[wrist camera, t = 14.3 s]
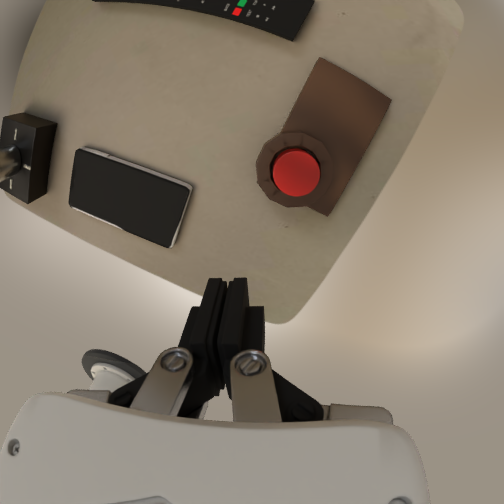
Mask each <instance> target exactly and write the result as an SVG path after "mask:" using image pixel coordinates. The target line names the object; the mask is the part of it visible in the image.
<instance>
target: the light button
mask: <svg viewBox="0 0 504 504" xmlns="http://www.w3.org/2000/svg"><path fill="white" fill-rule="evenodd" d="M273 178H274V181H275V184H276V185H277V187H278V188H279V189H280V190H281V191H282V192H283V193H285V194H287V195H290V196H303V195H306V194H308V193H310V192H311V191H312V190H314V188H315V187H316V186H317V184H318V182H319V179H320V169H319V166H318V163H317V162H316V160H315V159H314V158H313V157H312V156H311V155H310V154H309V153H308V152H306V151H304V150H301V149H288V150H286V151H284V152H282V153H281V154H280V155H279V156H278V157H277V158H276V160H275V162H274V165H273Z"/></svg>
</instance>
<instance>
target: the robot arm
mask: <svg viewBox="0 0 504 504" xmlns="http://www.w3.org/2000/svg"><path fill="white" fill-rule="evenodd" d="M264 345H265V318H264V306H249V296H248V285H247V278H234V281H229V286H228V288H227V282H226V281H222V278H209V280H208V283H207V286H206V289H205V292H204V295H203V299H202V302H201V305H200V307H196V306H195V307H194V306H193V307H192V308H191V310H190V313H189V316H188V319H187V322H186V324H185V327H184V330H183V333H182V336H181V340H180V342H179V345H178V347H173V348H169V349H167V350H165V351H163V352H162V353H161V354H160V355H159V356H158V358H157V360H156V361H155V363H154V365H153V367H152V369H151V370H150V372H148V373H146V374H144V375H143V376H141V377H139V378H137V379H135V378H134V377H133V376H131V375H130V374H129V373H127V372H125V371H124V370H122V369H120V368H118V367H116V366H114V365H111V364H107V363H95V364H94V365H93V366H92V368H91V373H92V376H93V378H94V380H93V382H92V384H91V386H90V388H89V390H77V389H76V390H71V391H69V392H67V393H62V392H45V393H39V394H35V395H33V396H31V397H30V398H29V399H28V400H27V401H26V402H25V403H24V405H23V406H22V408H21V410H20V411H19V412H18V414H17V416H16V418H15V420H14V422H13V424H12V426H11V428H10V430H9V432H8V434H7V436H6V438H5V441H4V443H3V446H2V448H1V451H0V504H430V497H429V490H428V485H427V480H426V475H425V471H424V467H423V463H422V460H421V457H420V454H419V451H418V449H417V446H416V444H415V442H414V440H413V439H412V437H411V436H410V435H409V434H408V433H407V432H406V431H405V430H404V429H402V428H400V427H398V426H395V425H393V418H392V415H391V413H390V412H389V411H388V410H386V409H385V408H382V407H374V406H355V405H354V406H353V405H341V404H331V405H330V406H328V405H321V404H319V402H317V401H316V400H315V399H313V398H312V397H310V396H309V395H307V394H306V393H304V392H303V391H302V390H300V389H299V388H297V387H296V386H295V385H293V384H291V383H290V382H289V381H287V380H286V379H285V378H283V377H282V376H281V375H279V374H278V373H277V372H275V371H274V370H272V368H271V363H270V360H269V357H268V356H267V355H266V354H265V353H264ZM225 384H226V387H227V391H228V395H229V398H230V399H231V400H232V408H233V422H227V421H212V420H203V418H204V415H205V413H206V410H207V407H208V401H209V400H210V399H212V398H213V397H214V396H219V393H220V389H224V387H225Z"/></svg>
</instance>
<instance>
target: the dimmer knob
mask: <svg viewBox="0 0 504 504" xmlns="http://www.w3.org/2000/svg"><path fill="white" fill-rule="evenodd" d="M20 166H21V156H20V152H19V150H18V148H17V147H16V146H15V145H10V146H7V147H4V148H1V149H0V182H1V181H3V180H5V179H7V178H9V177H12V176H14V175H16V174H17V173H18V172H19V170H20Z"/></svg>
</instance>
